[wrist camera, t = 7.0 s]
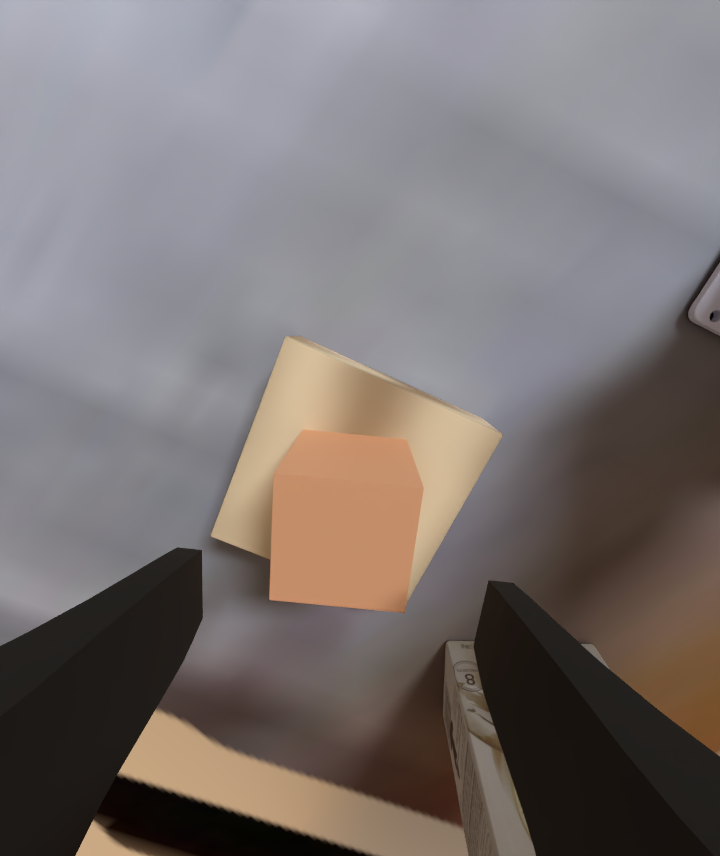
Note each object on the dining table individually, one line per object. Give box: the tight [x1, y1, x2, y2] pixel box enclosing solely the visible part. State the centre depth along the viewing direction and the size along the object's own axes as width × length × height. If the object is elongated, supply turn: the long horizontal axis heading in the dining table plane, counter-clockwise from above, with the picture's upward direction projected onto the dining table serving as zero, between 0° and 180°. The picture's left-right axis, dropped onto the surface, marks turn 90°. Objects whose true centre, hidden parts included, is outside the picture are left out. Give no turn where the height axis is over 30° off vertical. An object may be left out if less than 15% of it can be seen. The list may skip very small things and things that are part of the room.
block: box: [269, 429, 424, 613], centre depth 14 cm, size 4×4×5 cm
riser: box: [211, 336, 503, 603], centre depth 18 cm, size 10×10×3 cm
